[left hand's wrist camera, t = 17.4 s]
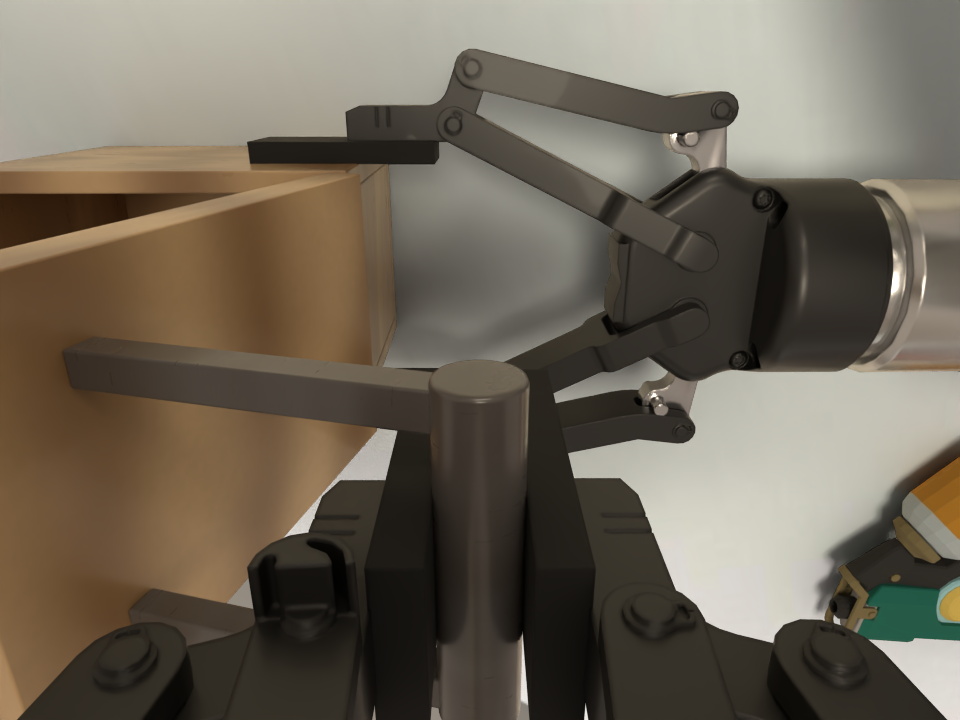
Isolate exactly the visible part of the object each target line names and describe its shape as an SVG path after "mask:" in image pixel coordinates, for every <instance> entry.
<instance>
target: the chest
mask: <svg viewBox="0 0 960 720" xmlns="http://www.w3.org/2000/svg"><path fill="white" fill-rule="evenodd" d="M323 173H348V174H360V181H361V196H362V212H363V227H364V242H365V257H366V272H367V288H368V303H369V318H370V333H371V348H372V363H373V366H378V367H383V364H384V361H385V359H386V356H387V353H388V350H389V347H390V344H391V341H392V338H393V335H394V333H395V330H396V327H397V325H396V305H395V285H394V265H393V245H392V225H391V205H390V185H389V165H388V164H250V161H249V153H248V146H107V147H100V148H93V149H86V150H80V151H73V152H66V153H60V154H53V155H46V156H40V157H33V158H26V159H20V160H13V161H6V162H0V250H1V249H5V248H9V247H13V246H17V245H22V244H26V243H30V242H34V241H39V240H43V239H47V238H51V237H56V236H60V235H64V234H68V233H73V232H77V231H81V230H85V229H90V228H94V227H98V226H102V225H107V224H111V223H115V222H119V221H124V220H128V219H132V218H136V217H140V216H145V215H149V214H153V213H157V212H162V211H166V210H170V209H174V208H179V207H183V206H187V205H191V204H196V203H200V202H204V201H208V200H213V199H217V198H221V197H225V196H230V195H234V194H238V193H242V192H246V191H251V190H255V189H259V188H263V187H268V186H272V185H276V184H280V183H285V182H289V181H293V180H297V179H302V178H306V177H310V176H314V175H319V174H323Z"/></svg>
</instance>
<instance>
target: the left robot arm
mask: <svg viewBox="0 0 960 720" xmlns="http://www.w3.org/2000/svg"><path fill="white" fill-rule="evenodd" d="M413 370H415V371H425V372H434V371H435V370H437V369H413ZM521 370H523V371H524V372H525V373H526V375H527V377H528V379H529V382H530V391H529V425H528V459H527V494H526V528H525V562H524V596H523V643H524V656H525V668H526V681H527V694H528V706H529V719H530V720H584V714H585V702H586V708H587V714H588V720H947V719H946V718H945V717H944V716H943V715H942V714H941V713H940V712H939V711H938V710H937V708H936V707H935V706H934V705H933V704H932V703H931V702H930V701H929V700H928V699H927V698H926V697H925V696H924V695H923V694H922V693H921V691H920V690H919V689H918V688H917V687H916V686H915V685H914V684H913V683H912V682H911V681H910V680H909V679H908V678H907V677H906V675H905V674H904V673H903V672H902V671H901V670H900V669H899V668H898V667H897V666H896V665H895V664H894V663H893V662H892V661H891V660H890V658H889V657H888V656H887V655H886V654H885V653H884V652H883V651H882V650H880V649H879V648H878V647H877V646H875V645H874V644H873V643H872V642H871V641H869V640H868V639H867V638H866V637H864V636H862V635H860V634H858V633H856V632H854V631H852V630H850V629H848V628H846V627H844V626H842V625H838V624H834V623H831V622H827V621H823V620H807V619H800V620H797V621H794V622H791V623H788V624H785V625H783V627H782V628H781V629H780V630H779V631H778V632H777V633H776V635H775V638H774V642H773V643H770V642H766V641H762V640H758V639H754V638H750V637H745V636H741V635H737V634H734V633H731V632H728V631H725V630H721V629H719V628H717V627H715V626H713V625H711V624H709V623H707V622H706V621H705V619H704V617H703V615H702V614H701V612H700V610H699V609H698V607H697V605H696V604H694V603H693V602H692V601H691V600H690V599H688V598H687V597H686V596H685V595H683V594H682V593H680V592H678V591H676V589H675V587H674V584H673V582H672V579H671V577H670V574H669V572H668V569H667V567H666V564H665V562H664V559H663V556H662V554H661V551H660V549H659V546H658V544H657V541H656V539H655V536H654V534H653V533H652V529H651V526H650V524H649V521H648V518H647V517H646V516H645V511H644V508H643V506H642V503H641V501H640V498H639V496H638V494H637V493H636V492H635V491H634V490H632V489H631V488H630V487H629V486H628V485H627V484H626V483H625V482H624V481H622V480H621V479H620V478H574V476H573V472H572V468H571V464H570V460H569V456H568V452H567V448H566V444H565V439H564V435H563V431H562V427H561V423H560V419H559V415H558V411H557V407H556V403H555V399H554V394H553V390H552V386H551V382H550V378H549V374H548V370H547V369H521ZM247 571H248V578H249V584H250V590H251V597H252V603H253V609H254V616H255V622H254V625H253V626H251V627H249V628H247V629H245V630H243V631H241V632H238V633H234V634H231V635H228V636H225V637H221V638H217V639H213V640H209V641H205V642H201V643H197V644H193V645H189V646H187V642H186V638H185V637H184V636H183V634H182V633H181V632H180V631H179V630H178V629H177V627H174V626H171V625H168V624H165V623H162V622H140V623H136V624H133V625H129V626H125V627H122V628H118V629H116V630H114V631H112V632H110V633H108V634H106V635H104V636H102V637H100V638H98V639H96V640H95V641H94V642H92V643H91V644H90V645H89V646H88V647H86V648H85V649H84V650H83V651H82V652H80V653H79V654H78V655H77V656H76V657H75V658H74V659H73V660H72V661H71V662H70V663H69V664H68V665H67V667H66V668H65V669H64V670H63V671H62V672H61V673H60V674H59V675H58V676H57V677H56V678H55V679H54V680H53V682H52V683H51V684H50V685H49V686H48V687H47V688H46V689H45V690H44V691H43V692H42V693H41V694H40V695H39V697H38V698H37V699H36V700H35V701H34V702H33V703H32V704H31V705H30V706H29V707H28V708H27V709H26V710H25V712H24V713H23V714H22V715H21V716H20V717H19V718H18V719H17V720H372V717H373V712H374V706H375V714H376V720H430V719H431V707H432V694H433V681H434V669H435V656H436V643H437V626H436V594H435V562H434V531H433V499H432V491H431V460H430V435H427V434H419V433H412V432H404V431H397V436H396V440H395V444H394V448H393V452H392V456H391V460H390V464H389V468H388V472H387V476H386V480H340V481H339V482H338V483H337V484H336V485H334V486H333V487H332V488H331V489H330V490H329V491H328V492H327V493H326V494H325V495H323V496H322V498H321V501H320V503H319V506H318V509H317V511H316V514H315V519H313V521H312V524H311V526H310V529H309V533H303V534H296V535H290V536H287V537H285V538H282V539H280V540H277V541H275V542H272V543H270V544H269V545H268V546H266V547H265V548H264V549H262V550H261V551H259V552H258V553H257V554H256V555H255V556H254V558H253V559H252V561H251V562H250V563H249V565H248V566H247Z"/></svg>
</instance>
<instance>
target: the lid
mask: <svg viewBox="0 0 960 720" xmlns="http://www.w3.org/2000/svg"><path fill="white" fill-rule="evenodd" d="M529 391H530V382H529V379H528V377H527V375H526V373H525V372H524V371H523V370H521V369H520V368H518V367H516V366H513V365H511V364H508V363H504V362H499V361H491V360H467V361H459V362H455V363H450V364H447V365H445V366H442V367H440V368H438V369H437V370H435V371H434V372H425V371H415V370H406V369H397V368H387V367H378V366H373V363H372V348H371V333H370V318H369V303H368V288H367V272H366V257H365V242H364V227H363V212H362V196H361V181H360V174H348V173H323V174H319V175H314V176H310V177H306V178H302V179H297V180H293V181H289V182H285V183H280V184H276V185H272V186H268V187H263V188H259V189H255V190H251V191H246V192H242V193H238V194H234V195H230V196H225V197H221V198H217V199H213V200H208V201H204V202H200V203H196V204H191V205H187V206H183V207H179V208H174V209H170V210H166V211H162V212H157V213H153V214H149V215H145V216H140V217H136V218H132V219H128V220H124V221H119V222H115V223H111V224H107V225H102V226H98V227H94V228H90V229H85V230H81V231H77V232H73V233H68V234H64V235H60V236H56V237H51V238H47V239H43V240H39V241H34V242H30V243H26V244H22V245H17V246H13V247H9V248H5V249H1V250H0V720H17V719H18V718H19V717H20V716H21V715H22V714H23V713H24V712H25V710H26V709H27V708H28V707H29V706H30V705H31V704H32V703H33V702H34V701H35V700H36V699H37V698H38V697H39V695H40V694H41V693H42V692H43V691H44V690H45V689H46V688H47V687H48V686H49V685H50V684H51V683H52V682H53V680H54V679H55V678H56V677H57V676H58V675H59V674H60V673H61V672H62V671H63V670H64V669H65V668H66V667H67V665H68V664H69V663H70V662H71V661H72V660H73V659H74V658H75V657H76V656H77V655H78V654H79V653H80V652H82V651H83V650H84V649H85V648H86V647H88V646H89V645H90V644H91V643H92V642H94V641H95V640H96V639H98V638H100V637H102V636H104V635H106V634H108V633H110V632H112V631H114V630H116V629H118V628H122V627H125V626H129V625H133V624H136V623H140V622H162V623H165V624H168V625H171V626H174V627H177V629H178V630H179V631H180V632H181V633H182V634H183V636H184V637H185V638H186V642H187V646H189V645H193V644H197V643H201V642H205V641H209V640H213V639H217V638H221V637H225V636H228V635H231V634H234V633H238V632H241V631H243V630H245V629H247V628H249V627H251V626H253V625H254V622H255V616H254V609H251V608H246V607H241V606H236V605H231V604H227V602H228V601H229V599H230V598H231V597H232V596H233V595H234V594H235V593H236V591H237V590H238V589H239V588H240V587H241V586H242V585H243V583H244V582H245V581H246V580H247V579H248V571H247V566H248V565H249V563H250V562H251V561H252V559H253V558H254V556H255V555H256V554H257V553H258V552H259V551H261V550H262V549H264V548H265V547H266V546H268V545H269V544H270V543H272V542H275V541H277V540H280V539H282V538H284V537H285V535H286V534H287V533H288V532H289V531H290V530H291V529H292V527H293V526H294V525H295V524H296V523H297V522H298V521H299V519H300V518H301V517H302V516H303V515H304V514H305V512H306V511H307V510H308V509H309V508H310V507H311V506H312V504H313V503H314V502H315V501H316V500H317V499H318V498H319V496H320V495H321V494H322V493H323V492H324V491H325V490H326V488H327V487H328V486H329V485H330V484H331V483H332V482H333V480H334V479H335V478H336V477H337V476H338V475H339V474H340V472H341V471H342V470H343V469H344V468H345V467H346V466H347V464H348V463H349V462H350V461H351V460H352V459H353V458H354V456H355V455H356V454H357V453H358V452H359V451H360V450H361V448H362V447H363V446H364V445H365V444H366V443H367V442H368V440H369V439H370V438H371V437H372V436H373V435H374V434H375V432H376V431H377V428H381V429H389V430H396V431H404V432H412V433H419V434H427V435H430V460H431V491H432V499H433V531H434V562H435V594H436V626H437V648H436V656H435V669H434V681H433V694H432V707H435V708H439V713H440V716H441V719H442V720H517V719H518V716H519V713H520V699H521V665H522V631H523V596H524V562H525V528H526V494H527V459H528V425H529Z"/></svg>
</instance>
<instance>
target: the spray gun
mask: <svg viewBox="0 0 960 720" xmlns="http://www.w3.org/2000/svg"><path fill="white" fill-rule="evenodd" d="M902 515H903V517H904V518H902V517H901V516H898V517H897V518H895V519H894V520H893V524H894V527H895V531H896V538H897V539H898V540H899V541H900V542H901V543H902V544H903V545H902V544H901V543H900V542H899V541H898V540H897V539H896V538H893V539H891V540H888V541H886V542H884V543H882V544H881V545H879V546H877V547H876V548H874V549H872V550H871V551H869V552H867V553H865V554H864V555H862V556H860V557H859V558H857V559H855V560H854V561H852V562H850V563H849V564H847V566H846V565H842V566H841V567H839V568H838V570H839V572H840V573H841V575H842V578H841V581H840V583H839V585H838V587H837V589H836V591H835V593H834V596H833V598H832V599H831V600H830V603H829V606H828V609H827V611H826V613H825V621H827V622H831V623H834V622H833V616H834V615H835V616H836V617H837V618H839V619H840V624H841V625H842V626H844V627H846V628H848V629H850V630H852V631H854V632H856V633H858V634H860V635H862V636H864V637H866V638H867V639H872V640H887V641H901V642H910V641H913V639H914V638H923V639H941V640H958V641H960V457H958V458H957V459H956V460H954V461H953V462H951V463H950V464H948V465H947V466H946V467H944V468H943V469H941V470H940V471H939V472H937V473H936V474H934V475H933V476H932V477H930V478H929V479H927V480H926V481H925V482H923V483H922V484H920V485H919V486H918V487H916V488H915V489H913V490H912V491H911V492H910V493H909V494H908V495H907V496H906V498H905V499H904V500H903V501H902ZM904 519H905V520H904ZM848 584H849V585H850V586H847V585H848Z"/></svg>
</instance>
